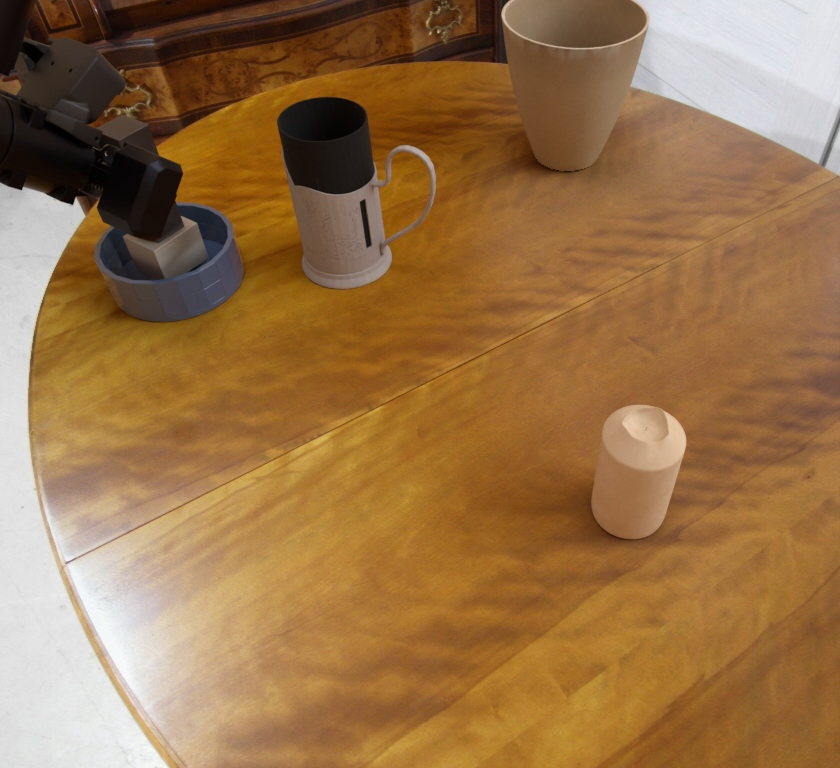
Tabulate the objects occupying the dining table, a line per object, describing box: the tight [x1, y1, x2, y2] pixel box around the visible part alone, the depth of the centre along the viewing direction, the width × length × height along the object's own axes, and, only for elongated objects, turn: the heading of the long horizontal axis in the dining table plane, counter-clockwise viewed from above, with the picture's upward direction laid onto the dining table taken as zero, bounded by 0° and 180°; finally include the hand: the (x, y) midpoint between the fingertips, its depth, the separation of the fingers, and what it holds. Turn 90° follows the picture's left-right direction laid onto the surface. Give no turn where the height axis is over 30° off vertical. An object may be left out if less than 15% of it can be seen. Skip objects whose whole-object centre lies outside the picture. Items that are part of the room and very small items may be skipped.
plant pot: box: [500, 0, 651, 172], centre depth 84 cm, size 15×15×16 cm
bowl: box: [93, 201, 245, 323], centre depth 72 cm, size 12×12×4 cm
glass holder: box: [276, 96, 437, 290], centre depth 70 cm, size 9×14×15 cm, turn 73°
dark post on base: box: [95, 114, 209, 280], centre depth 67 cm, size 5×4×14 cm
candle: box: [590, 404, 687, 540], centre depth 53 cm, size 6×6×10 cm
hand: (161, 193), depth 68 cm, fingers closed on dark post on base, 3 cm apart
